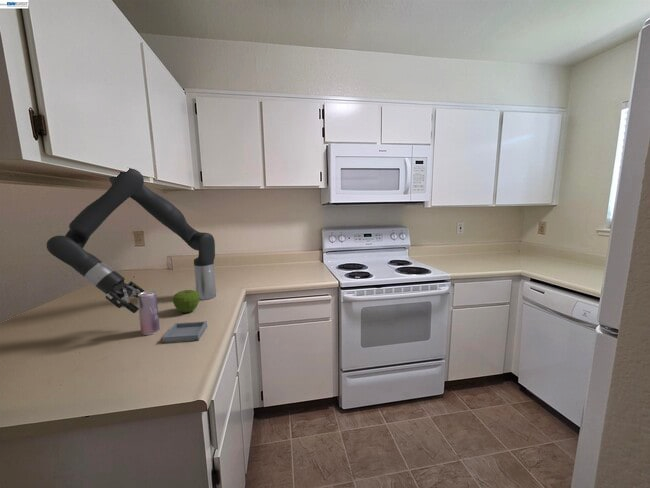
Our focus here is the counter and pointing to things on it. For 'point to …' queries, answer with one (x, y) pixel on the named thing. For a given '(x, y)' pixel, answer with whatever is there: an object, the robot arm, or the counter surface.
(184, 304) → the apple
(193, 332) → the tray
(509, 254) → the counter surface
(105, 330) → the counter surface
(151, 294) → the beverage can
